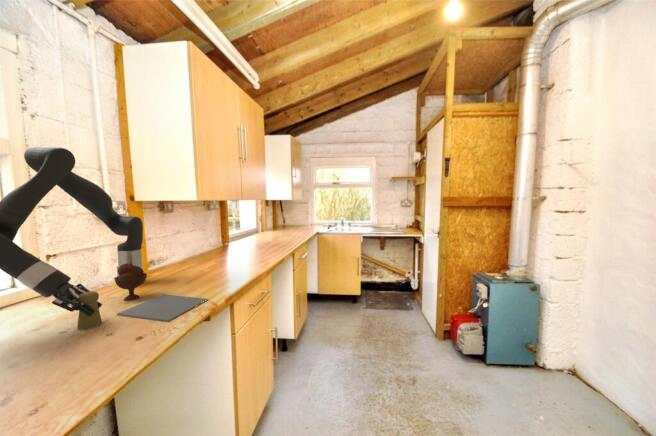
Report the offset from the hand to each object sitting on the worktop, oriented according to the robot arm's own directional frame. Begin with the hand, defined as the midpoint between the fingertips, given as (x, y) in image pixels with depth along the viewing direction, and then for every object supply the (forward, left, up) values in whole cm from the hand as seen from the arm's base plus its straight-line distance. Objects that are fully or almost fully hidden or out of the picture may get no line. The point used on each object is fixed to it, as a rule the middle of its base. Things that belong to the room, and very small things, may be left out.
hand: (96, 310), depth 86 cm
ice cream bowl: (-10, +21, -5) cm, 24 cm away
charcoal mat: (+11, +17, -5) cm, 20 cm away
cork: (-1, -1, -5) cm, 5 cm away
